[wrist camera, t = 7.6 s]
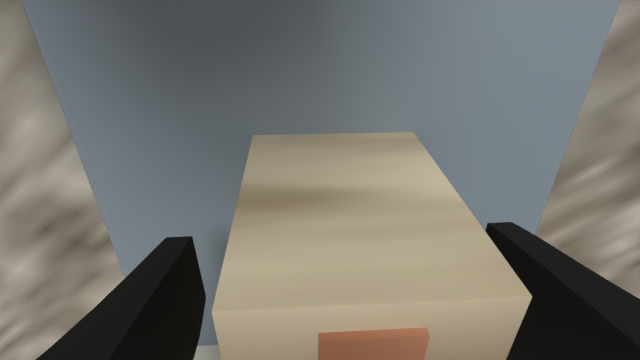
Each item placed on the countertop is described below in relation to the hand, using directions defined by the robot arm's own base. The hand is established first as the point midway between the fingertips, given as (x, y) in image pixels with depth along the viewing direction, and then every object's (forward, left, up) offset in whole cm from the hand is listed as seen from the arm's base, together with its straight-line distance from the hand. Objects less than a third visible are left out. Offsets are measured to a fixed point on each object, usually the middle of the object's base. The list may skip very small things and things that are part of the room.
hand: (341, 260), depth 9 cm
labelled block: (0, 0, -3) cm, 3 cm away
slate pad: (0, 0, -3) cm, 3 cm away
